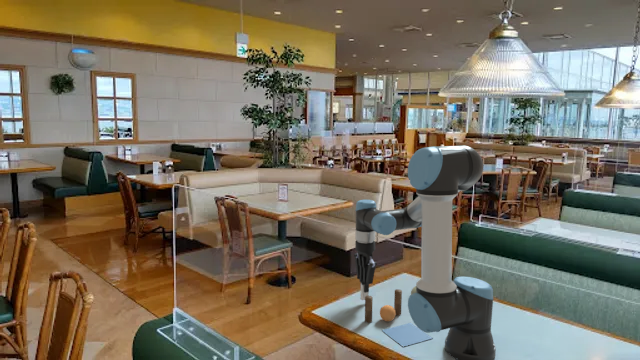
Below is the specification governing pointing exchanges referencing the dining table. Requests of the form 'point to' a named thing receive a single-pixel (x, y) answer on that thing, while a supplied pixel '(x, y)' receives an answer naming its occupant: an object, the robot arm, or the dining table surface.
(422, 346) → the dining table surface
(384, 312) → the ball
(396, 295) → the post right
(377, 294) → the dining table surface
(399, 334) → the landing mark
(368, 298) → the post left
